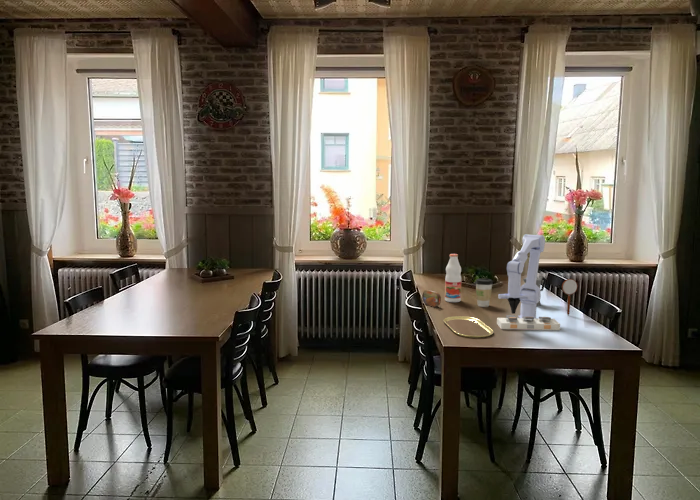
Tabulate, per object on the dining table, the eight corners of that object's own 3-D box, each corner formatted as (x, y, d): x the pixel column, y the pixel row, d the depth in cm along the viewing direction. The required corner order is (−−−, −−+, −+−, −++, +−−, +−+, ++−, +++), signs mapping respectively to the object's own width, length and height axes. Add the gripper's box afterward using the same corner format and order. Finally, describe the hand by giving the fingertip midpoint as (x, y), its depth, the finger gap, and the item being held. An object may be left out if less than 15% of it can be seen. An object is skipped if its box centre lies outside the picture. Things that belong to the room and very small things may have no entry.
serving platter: (474, 318, 280) (474, 315, 280) (499, 338, 246) (499, 335, 246) (439, 319, 278) (439, 316, 278) (459, 339, 244) (459, 336, 244)
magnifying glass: (561, 316, 283) (563, 279, 280) (559, 315, 285) (561, 278, 282) (576, 315, 284) (578, 278, 281) (574, 315, 286) (577, 278, 283)
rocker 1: (506, 317, 267) (506, 314, 266) (514, 317, 266) (514, 315, 266) (508, 320, 261) (508, 317, 261) (517, 320, 260) (517, 318, 260)
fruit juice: (459, 299, 323) (460, 253, 319) (461, 302, 314) (463, 255, 310) (443, 298, 324) (445, 253, 320) (445, 302, 315) (446, 255, 311)
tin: (421, 302, 314) (421, 288, 313) (426, 302, 316) (426, 288, 314) (437, 308, 301) (437, 293, 300) (441, 307, 302) (442, 293, 301)
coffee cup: (474, 303, 313) (475, 278, 311) (491, 304, 311) (492, 278, 309) (474, 307, 303) (475, 281, 301) (492, 308, 301) (493, 281, 299)
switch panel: (496, 323, 269) (497, 315, 269) (553, 324, 268) (554, 316, 267) (501, 329, 259) (501, 321, 259) (560, 330, 258) (560, 322, 257)
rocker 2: (522, 318, 266) (522, 316, 266) (530, 318, 266) (530, 316, 266) (525, 319, 260) (525, 316, 260) (533, 319, 260) (533, 317, 260)
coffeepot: (527, 306, 304) (528, 275, 302) (517, 303, 313) (518, 272, 311) (550, 304, 309) (551, 274, 306) (539, 301, 318) (541, 271, 315)
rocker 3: (538, 318, 265) (538, 316, 266) (547, 318, 265) (547, 316, 265) (542, 319, 260) (542, 317, 260) (550, 319, 259) (550, 317, 259)
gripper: (500, 287, 255) (499, 315, 257) (531, 287, 254) (530, 315, 256) (497, 284, 262) (496, 311, 264) (527, 284, 261) (526, 311, 263)
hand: (513, 313), depth 260 cm, fingers closed
